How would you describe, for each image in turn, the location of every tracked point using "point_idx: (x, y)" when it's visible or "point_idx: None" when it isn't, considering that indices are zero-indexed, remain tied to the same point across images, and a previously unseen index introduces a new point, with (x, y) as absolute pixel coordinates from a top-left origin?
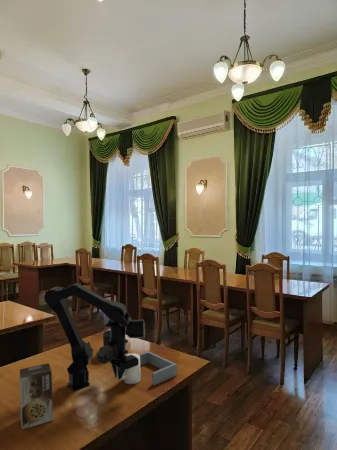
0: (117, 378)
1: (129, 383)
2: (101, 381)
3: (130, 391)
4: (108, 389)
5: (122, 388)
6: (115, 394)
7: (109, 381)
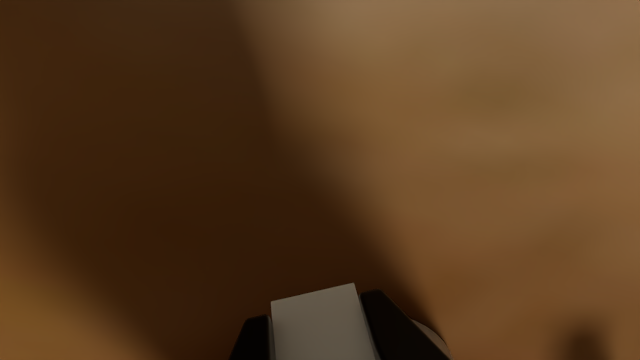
0: (336, 300)
1: None
2: (636, 25)
3: (31, 312)
4: (274, 37)
5: (182, 246)
6: (13, 91)
7: (525, 145)
